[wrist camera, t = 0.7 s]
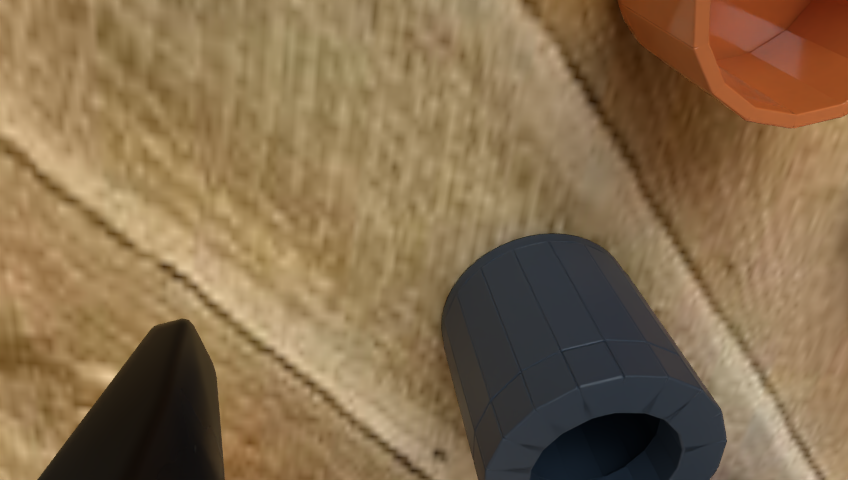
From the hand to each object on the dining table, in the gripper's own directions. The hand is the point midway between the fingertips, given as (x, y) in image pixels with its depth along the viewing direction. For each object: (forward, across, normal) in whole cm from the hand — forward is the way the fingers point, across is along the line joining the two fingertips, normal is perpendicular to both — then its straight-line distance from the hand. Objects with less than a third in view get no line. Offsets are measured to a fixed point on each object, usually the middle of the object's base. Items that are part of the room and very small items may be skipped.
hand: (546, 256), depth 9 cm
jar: (+12, -3, +14) cm, 18 cm away
